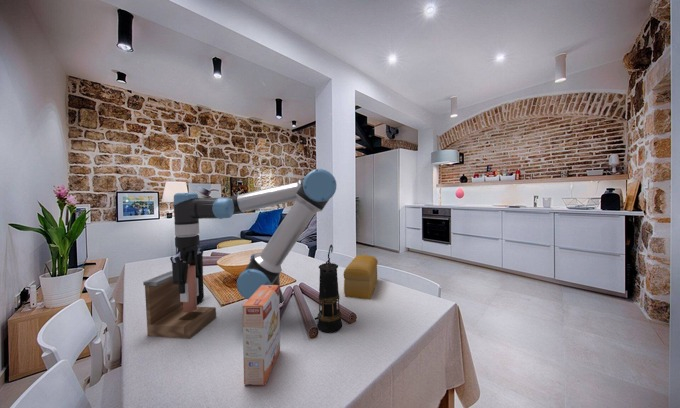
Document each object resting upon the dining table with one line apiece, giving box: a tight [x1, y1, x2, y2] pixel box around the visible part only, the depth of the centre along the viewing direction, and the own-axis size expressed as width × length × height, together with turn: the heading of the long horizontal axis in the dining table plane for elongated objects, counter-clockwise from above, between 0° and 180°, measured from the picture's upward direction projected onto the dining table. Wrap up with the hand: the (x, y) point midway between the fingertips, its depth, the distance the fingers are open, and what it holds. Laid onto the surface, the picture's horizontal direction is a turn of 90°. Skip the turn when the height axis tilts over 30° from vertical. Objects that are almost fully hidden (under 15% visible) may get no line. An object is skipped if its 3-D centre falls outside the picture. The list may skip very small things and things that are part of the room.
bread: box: [343, 254, 378, 300], centre depth 122 cm, size 24×13×15 cm, turn 163°
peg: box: [182, 265, 198, 312], centre depth 88 cm, size 4×4×16 cm
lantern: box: [314, 243, 343, 334], centre depth 87 cm, size 9×9×30 cm
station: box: [142, 270, 217, 339], centre depth 89 cm, size 16×15×19 cm
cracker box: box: [241, 285, 281, 386], centre depth 67 cm, size 14×6×21 cm, turn 178°
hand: (189, 298), depth 88 cm, fingers closed on peg, 4 cm apart
